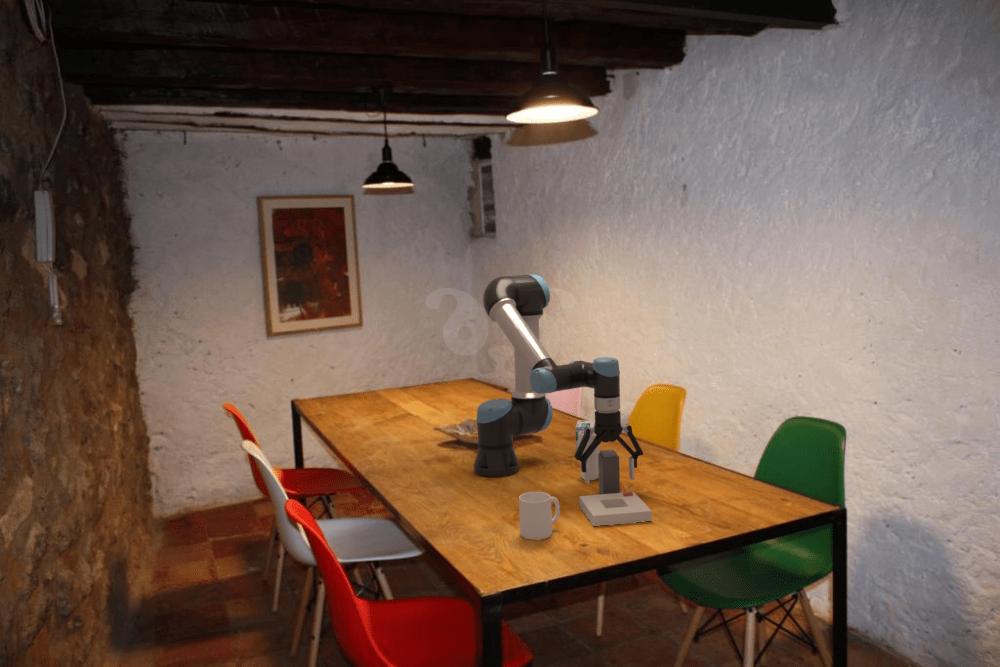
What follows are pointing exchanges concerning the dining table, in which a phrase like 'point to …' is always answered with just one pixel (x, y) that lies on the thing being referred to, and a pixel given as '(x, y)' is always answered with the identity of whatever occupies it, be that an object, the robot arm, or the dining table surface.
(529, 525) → the cup
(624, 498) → the socket
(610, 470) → the plug
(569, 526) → the dining table surface
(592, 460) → the drinking glass
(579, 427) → the light bulb box
